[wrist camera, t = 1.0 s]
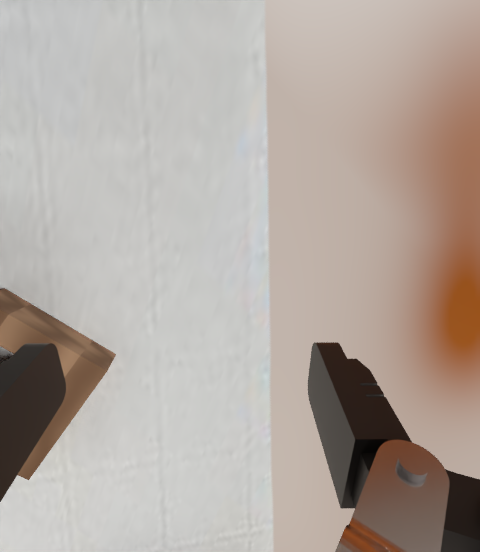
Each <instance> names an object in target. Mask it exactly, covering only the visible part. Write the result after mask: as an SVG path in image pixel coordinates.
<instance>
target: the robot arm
mask: <svg viewBox="0 0 480 552" xmlns="http://www.w3.org/2000/svg"><path fill="white" fill-rule="evenodd" d="M65 393H66V381H65V377H64V373H63V369H62V366H61V362H60V358H59V354H58V350H57V347H56V346H55V345H54V344H53V343H27V344H24V345H23V346H22V347H20V349H19V350H18V351H17V352H16V353H15V354H14V355H13V356H12V357H11V358H10V359H9V360H5V361H3V362H2V363H0V502H1V500H2V498H3V497H4V495H5V494H6V492H7V490H8V489H9V487H10V486H11V484H12V482H13V481H14V479H15V478H16V476H17V474H18V473H19V471H20V470H21V468H22V466H23V465H24V463H25V462H26V460H27V459H28V457H29V455H30V454H31V452H32V451H33V449H34V447H35V446H36V444H37V443H38V441H39V439H40V438H41V436H42V435H43V433H44V431H45V430H46V428H47V427H48V425H49V424H50V422H51V420H52V419H53V417H54V416H55V414H56V412H57V411H58V409H59V408H60V406H61V404H62V403H63V400H64V397H65ZM308 395H309V401H310V404H311V408H312V411H313V415H314V418H315V422H316V425H317V429H318V432H319V435H320V439H321V442H322V446H323V449H324V452H325V456H326V459H327V463H328V466H329V470H330V473H331V477H332V480H333V483H334V486H335V490H336V493H337V497H338V500H339V504H340V507H341V508H355V511H354V513H353V516H352V519H351V521H350V524H349V525H347V526H346V528H345V529H344V532H343V534H342V536H341V539H340V541H339V544H338V546H337V549H336V552H480V480H479V479H475V478H472V477H468V476H464V475H461V474H457V473H454V472H451V471H448V470H446V469H444V467H443V465H442V464H441V463H440V462H439V460H438V459H437V458H436V457H435V456H433V455H432V454H431V453H430V452H429V451H427V450H426V449H424V448H423V447H421V446H419V445H417V444H414V443H412V441H411V440H410V438H409V436H408V435H407V433H406V431H405V430H404V428H403V426H402V425H401V423H400V421H399V419H398V418H397V416H396V415H395V413H394V411H393V409H392V408H391V406H390V404H389V402H388V401H387V399H386V397H384V394H383V392H382V391H381V389H380V387H379V386H378V385H377V382H376V380H375V378H374V377H373V375H372V373H371V371H370V370H369V369H368V368H367V367H365V366H364V365H363V364H362V363H361V362H360V361H358V360H357V359H347V358H346V356H345V354H344V352H343V350H342V348H341V346H340V344H339V343H314V344H313V346H312V352H311V361H310V369H309V378H308Z"/></svg>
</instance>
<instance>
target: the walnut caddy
mask: <svg viewBox="0 0 480 552" xmlns="http://www.w3.org/2000/svg"><path fill="white" fill-rule="evenodd" d="M27 343H53V344H54V345H55V346H56V347H57V350H58V354H59V358H60V362H61V366H62V369H63V373H64V377H65V381H66V393H65V397H64V400H63V403H62V404H61V406H60V408H59V409H58V411H57V412H56V414H55V416H54V417H53V419H52V420H51V422H50V424H49V425H48V427H47V428H46V430H45V431H44V433H43V435H42V436H41V438H40V439H39V441H38V443H37V444H36V446H35V447H34V449H33V451H32V452H31V454H30V455H29V457H28V459H27V460H26V462H25V463H24V465H23V466H22V468H21V470H20V471H19V473H18V474H17V475H19V476H21V477H23V478H25V479H27V480H29V479H30V477H31V476H32V475H33V473H34V472H35V470H36V469H37V468H38V466H39V465H40V464H41V462H42V461H43V459H44V458H45V457H46V455H47V454H48V452H49V451H50V450H51V448H52V447H53V445H54V444H55V443H56V441H57V440H58V439H59V437H60V436H61V434H62V433H63V432H64V430H65V429H66V427H67V426H68V425H69V423H70V422H71V420H72V419H73V418H74V416H75V415H76V414H77V412H78V411H79V409H80V408H81V407H82V405H83V404H84V402H85V401H86V400H87V398H88V397H89V395H90V394H91V393H92V391H93V390H94V389H95V387H96V386H97V384H98V383H99V382H100V380H101V379H102V377H103V376H104V375H105V373H106V372H107V370H108V368H109V367H110V365H111V363H112V361H113V359H114V357H115V355H116V354H114V353H113V352H111V351H109V350H108V349H106V348H104V347H103V346H101V345H99V344H97V343H96V342H94V341H92V340H91V339H89V338H87V337H86V336H84V335H82V334H81V333H79V332H77V331H76V330H74V329H72V328H71V327H69V326H67V325H65V324H64V323H62V322H60V321H59V320H57V319H55V318H54V317H52V316H50V315H49V314H47V313H45V312H44V311H42V310H40V309H38V308H37V307H35V306H33V305H32V304H30V303H28V302H27V301H25V300H23V299H22V298H20V297H18V296H17V295H15V294H13V293H12V292H10V291H8V290H6V289H5V288H4V289H0V346H1V347H3V348H5V349H6V350H8V351H10V352H12V353H14V354H15V353H16V352H17V351H18V350H19V349H20V347H22V346H23V345H24V344H27Z"/></svg>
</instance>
